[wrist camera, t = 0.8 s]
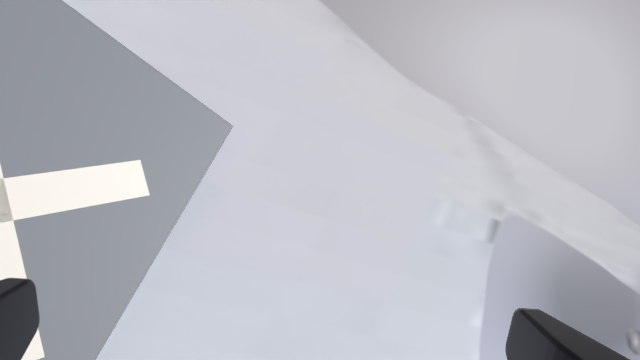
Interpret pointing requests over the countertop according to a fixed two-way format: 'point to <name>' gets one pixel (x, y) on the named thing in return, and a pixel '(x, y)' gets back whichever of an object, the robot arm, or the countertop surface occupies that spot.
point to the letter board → (88, 170)
